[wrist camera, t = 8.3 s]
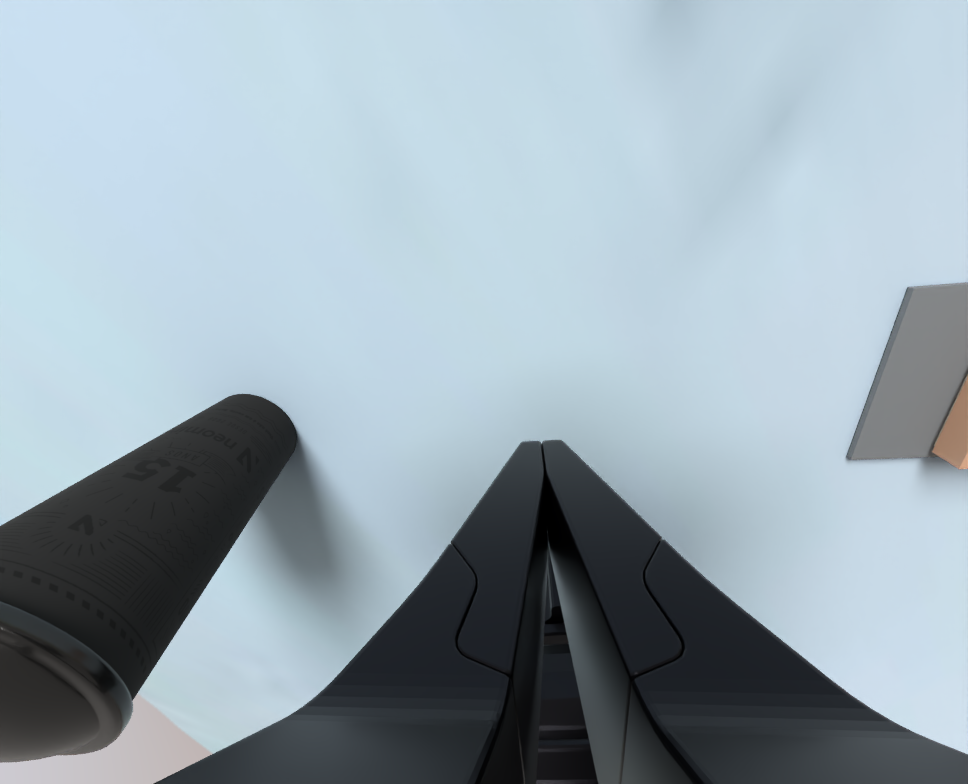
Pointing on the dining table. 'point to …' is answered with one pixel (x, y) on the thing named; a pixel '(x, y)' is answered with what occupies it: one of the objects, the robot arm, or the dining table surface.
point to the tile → (955, 432)
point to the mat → (916, 375)
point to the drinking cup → (122, 573)
